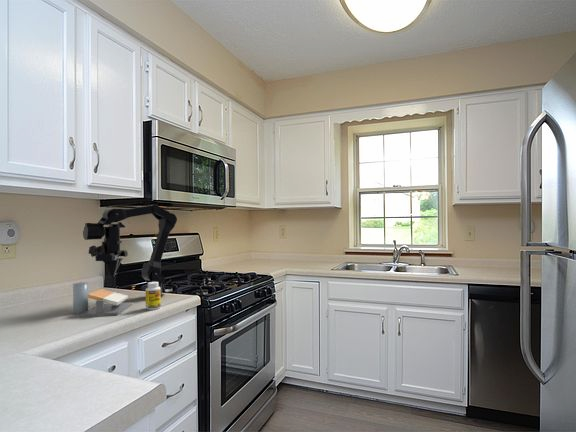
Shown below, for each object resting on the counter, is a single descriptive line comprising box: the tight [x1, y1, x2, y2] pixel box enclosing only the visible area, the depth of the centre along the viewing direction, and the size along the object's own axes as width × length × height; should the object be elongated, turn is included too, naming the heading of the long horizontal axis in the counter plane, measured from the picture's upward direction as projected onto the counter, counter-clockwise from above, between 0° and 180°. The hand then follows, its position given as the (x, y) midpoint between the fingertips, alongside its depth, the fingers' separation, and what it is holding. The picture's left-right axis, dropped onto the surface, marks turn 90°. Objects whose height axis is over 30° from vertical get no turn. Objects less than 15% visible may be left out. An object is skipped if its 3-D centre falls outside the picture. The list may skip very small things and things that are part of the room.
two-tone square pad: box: [87, 288, 129, 305], centre depth 132 cm, size 12×11×2 cm
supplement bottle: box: [145, 282, 162, 311], centre depth 134 cm, size 6×6×10 cm
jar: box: [72, 281, 89, 315], centre depth 130 cm, size 5×5×11 cm
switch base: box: [79, 291, 134, 318], centre depth 132 cm, size 16×13×6 cm
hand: (112, 275), depth 141 cm, fingers closed
